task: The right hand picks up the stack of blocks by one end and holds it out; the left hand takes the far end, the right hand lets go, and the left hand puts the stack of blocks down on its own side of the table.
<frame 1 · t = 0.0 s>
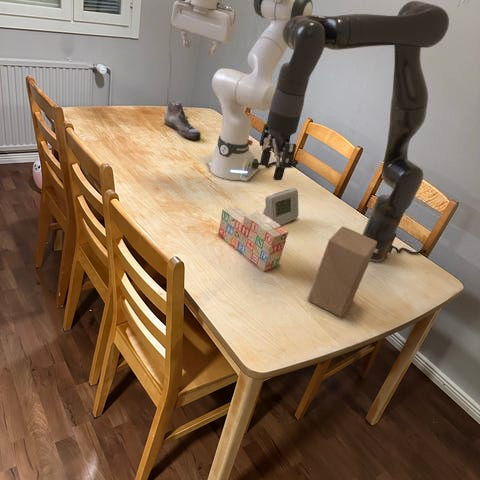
left hand: (198, 51, 131), 48 cm above the table, tool pointing down, fingers open, 8 cm apart
right hand: (270, 172, 113), 29 cm above the table, tool pointing down, fingers open, 8 cm apart
digital clock: (278, 221, 153), on the table
stack of blocks: (247, 249, 134), on the table
wooden block: (330, 300, 121), on the table
shoe: (182, 131, 208), on the table
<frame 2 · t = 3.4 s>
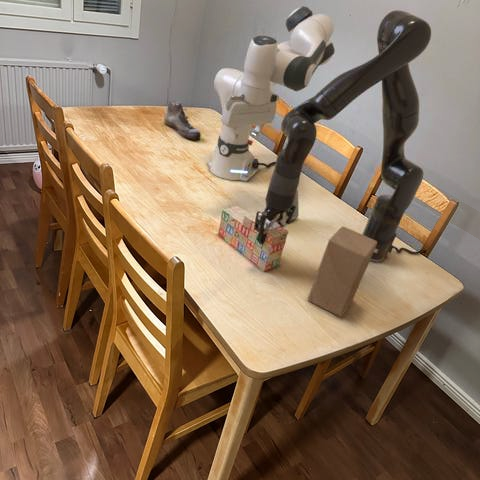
left hand: (244, 137, 141), 26 cm above the table, tool pointing down, fingers open, 8 cm apart
right hand: (268, 239, 126), 8 cm above the table, tool pointing down, fingers closed on stack of blocks, 6 cm apart
stack of blocks: (247, 249, 134), on the table, touching right hand
everything else where it was.
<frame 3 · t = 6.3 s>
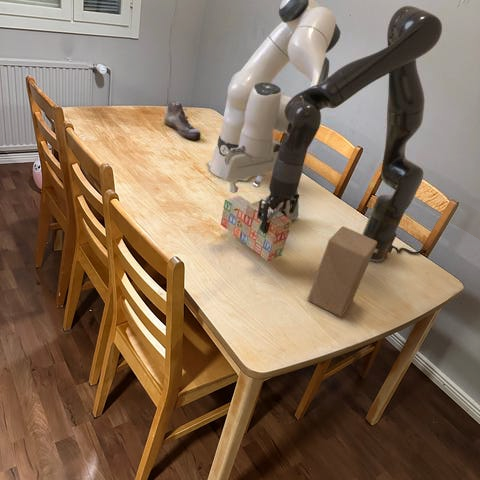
left hand: (245, 189, 129), 18 cm above the table, tool pointing down, fingers open, 8 cm apart
right hand: (272, 228, 125), 12 cm above the table, tool pointing down, fingers closed on stack of blocks, 6 cm apart
stack of blocks: (250, 239, 133), point 4 cm above the table, touching right hand
everything else where it was.
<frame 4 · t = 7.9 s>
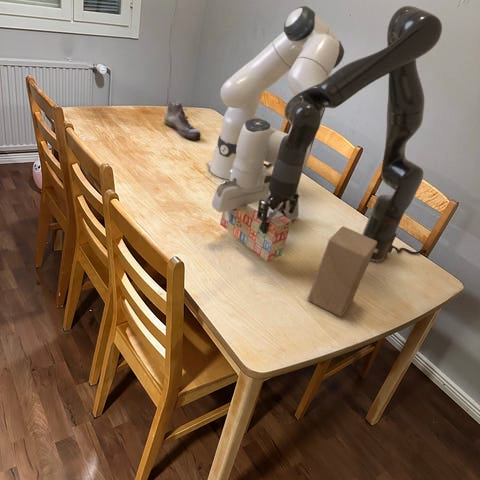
left hand: (237, 217, 134), 8 cm above the table, tool pointing down, fingers closed on stack of blocks, 6 cm apart
right hand: (271, 229, 124), 12 cm above the table, tool pointing down, fingers closed on stack of blocks, 6 cm apart
stack of blocks: (249, 240, 132), point 4 cm above the table, touching left hand, right hand
everything else where it was.
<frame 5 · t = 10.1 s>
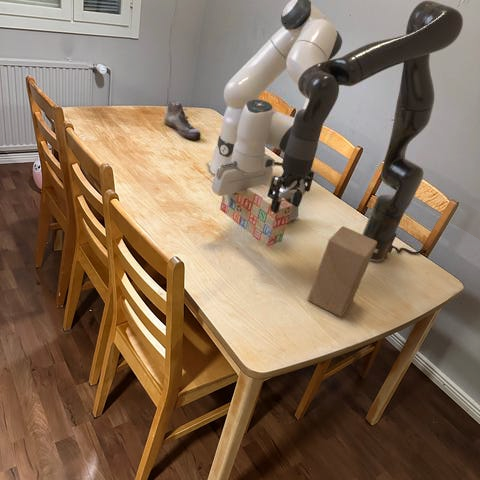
left hand: (237, 202, 131), 13 cm above the table, tool pointing down, fingers closed on stack of blocks, 6 cm apart
right hand: (284, 208, 119), 20 cm above the table, tool pointing down, fingers open, 8 cm apart
stack of blocks: (249, 225, 130), point 9 cm above the table, touching left hand
everything else where it was.
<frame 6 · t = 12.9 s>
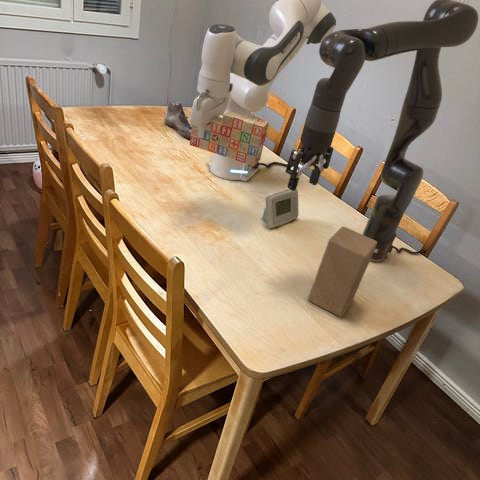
left hand: (206, 133, 133), 28 cm above the table, tool pointing down, fingers closed on stack of blocks, 6 cm apart
right hand: (302, 186, 113), 28 cm above the table, tool pointing down, fingers open, 8 cm apart
stack of blocks: (224, 152, 134), point 23 cm above the table, touching left hand
everything else where it was.
when the left hand's fingers open (5 cm above the table, at t = 17.7 s): stack of blocks drops 1 cm, on the table.
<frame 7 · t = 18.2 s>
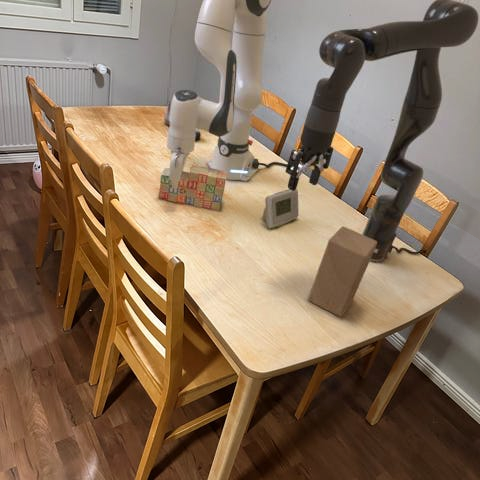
left hand: (176, 181, 149), 6 cm above the table, tool pointing down, fingers open, 8 cm apart
right hand: (302, 186, 113), 28 cm above the table, tool pointing down, fingers open, 8 cm apart
stack of blocks: (190, 200, 153), on the table
everything else where it was.
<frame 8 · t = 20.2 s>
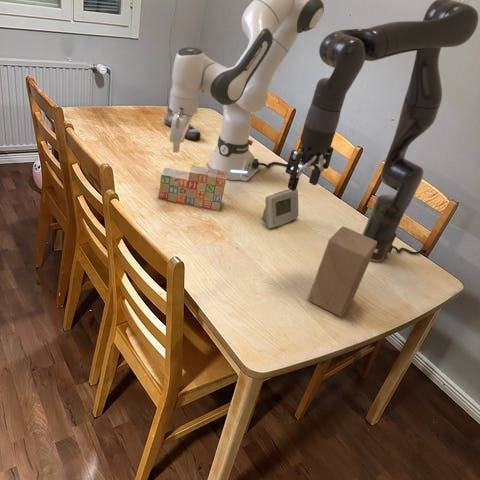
left hand: (178, 146, 143), 19 cm above the table, tool pointing down, fingers open, 8 cm apart
right hand: (302, 186, 113), 28 cm above the table, tool pointing down, fingers open, 8 cm apart
nothing on the table moved.
at the end: stack of blocks inside the target area (6.4 cm from its centre), on the table; the left hand is holding nothing; the right hand is holding nothing; stack of blocks at rest at the end (0.0 cm/s) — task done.
